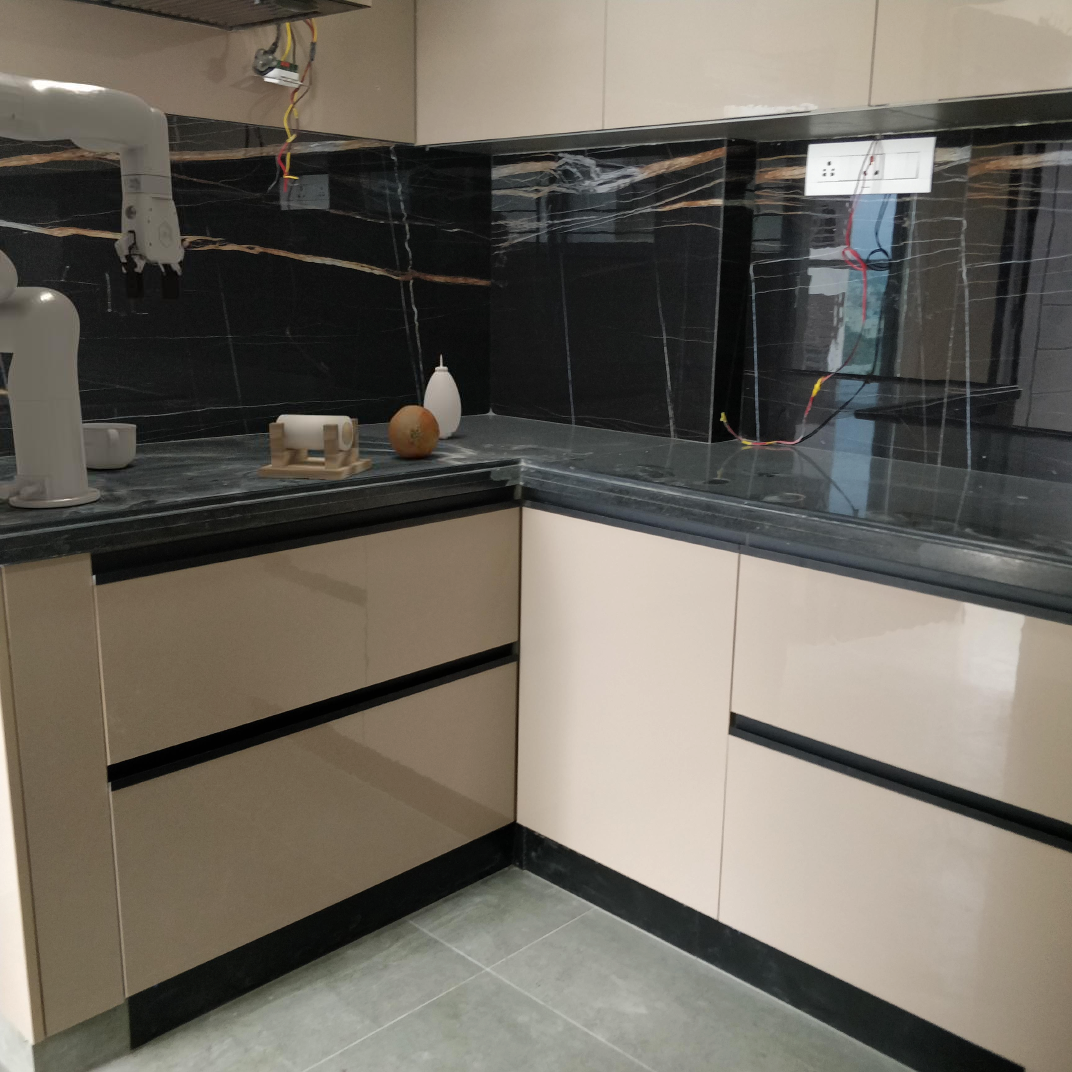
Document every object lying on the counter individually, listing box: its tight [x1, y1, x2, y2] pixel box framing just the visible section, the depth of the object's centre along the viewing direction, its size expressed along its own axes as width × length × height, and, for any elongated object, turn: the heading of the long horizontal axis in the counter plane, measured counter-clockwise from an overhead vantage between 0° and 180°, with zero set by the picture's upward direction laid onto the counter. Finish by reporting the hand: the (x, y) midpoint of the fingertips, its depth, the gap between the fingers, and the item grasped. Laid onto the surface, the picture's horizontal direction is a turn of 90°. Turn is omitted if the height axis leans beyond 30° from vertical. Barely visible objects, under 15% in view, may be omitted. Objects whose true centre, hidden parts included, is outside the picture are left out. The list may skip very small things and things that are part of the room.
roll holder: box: [257, 418, 372, 481], centre depth 187 cm, size 14×15×9 cm
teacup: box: [82, 422, 137, 470], centre depth 192 cm, size 14×11×8 cm
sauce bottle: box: [423, 354, 462, 440], centre depth 230 cm, size 8×8×18 cm
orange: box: [387, 405, 440, 459], centre depth 203 cm, size 10×10×10 cm
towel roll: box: [275, 414, 353, 451], centre depth 186 cm, size 6×12×6 cm, turn 76°
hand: (154, 298), depth 175 cm, fingers open, 9 cm apart
